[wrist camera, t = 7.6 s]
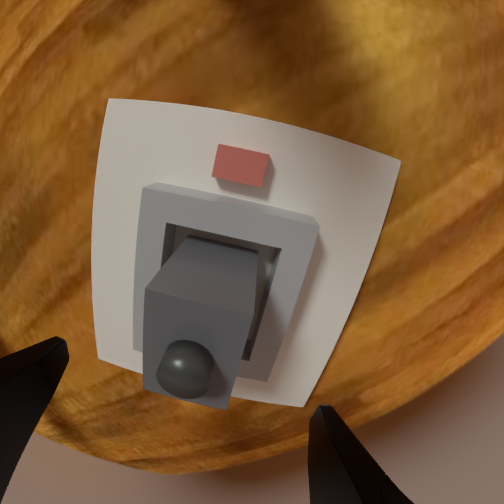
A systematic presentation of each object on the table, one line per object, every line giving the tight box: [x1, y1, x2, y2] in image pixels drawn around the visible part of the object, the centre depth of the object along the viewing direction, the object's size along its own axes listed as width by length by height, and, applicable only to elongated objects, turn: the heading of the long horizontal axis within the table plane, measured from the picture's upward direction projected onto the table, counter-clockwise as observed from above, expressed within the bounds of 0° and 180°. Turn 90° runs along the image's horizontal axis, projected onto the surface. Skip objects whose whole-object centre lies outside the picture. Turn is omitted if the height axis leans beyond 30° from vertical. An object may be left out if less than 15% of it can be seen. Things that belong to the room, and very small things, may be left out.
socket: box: [91, 99, 401, 407], centre depth 16 cm, size 18×16×3 cm
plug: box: [143, 235, 258, 410], centre depth 12 cm, size 5×4×8 cm
